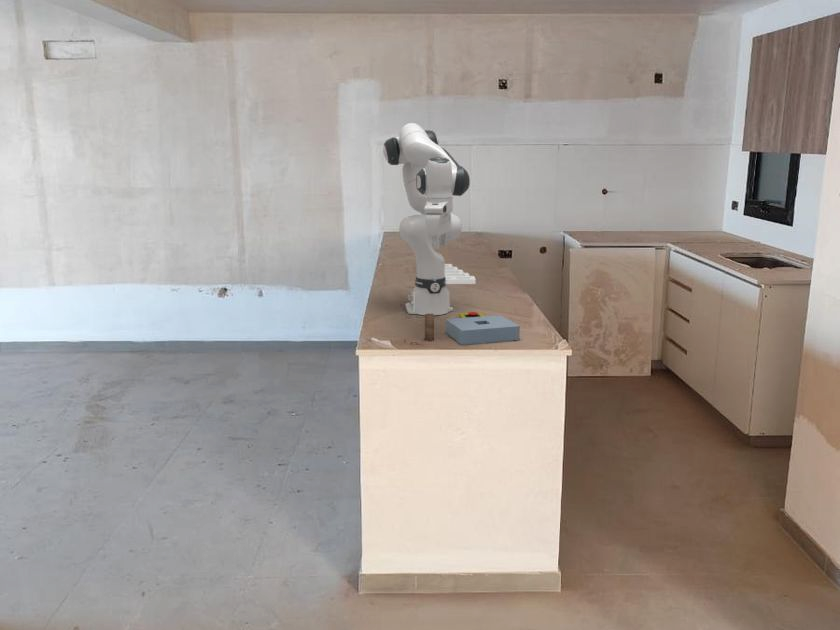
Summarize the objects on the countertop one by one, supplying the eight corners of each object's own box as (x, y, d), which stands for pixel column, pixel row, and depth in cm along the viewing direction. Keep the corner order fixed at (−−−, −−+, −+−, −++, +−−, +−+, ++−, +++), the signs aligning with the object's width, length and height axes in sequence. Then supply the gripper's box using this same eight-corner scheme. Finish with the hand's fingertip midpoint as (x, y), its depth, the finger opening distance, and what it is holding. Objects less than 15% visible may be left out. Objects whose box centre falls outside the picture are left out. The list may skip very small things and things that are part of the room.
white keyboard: (434, 268, 396) (434, 263, 395) (468, 268, 396) (468, 263, 396) (438, 285, 352) (438, 279, 352) (475, 284, 352) (475, 279, 352)
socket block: (445, 332, 264) (445, 319, 263) (500, 328, 270) (500, 315, 268) (461, 345, 248) (462, 330, 247) (519, 340, 254) (519, 326, 253)
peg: (423, 339, 255) (423, 313, 253) (432, 338, 256) (432, 313, 254) (426, 341, 252) (426, 315, 250) (435, 340, 253) (435, 315, 251)
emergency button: (481, 308, 284) (490, 317, 269) (480, 319, 285) (490, 329, 270) (457, 309, 282) (465, 318, 268) (457, 320, 283) (465, 330, 269)
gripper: (438, 204, 260) (438, 243, 262) (422, 208, 240) (422, 250, 243) (455, 204, 258) (455, 244, 261) (441, 208, 239) (441, 251, 241)
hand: (439, 247), depth 252 cm, fingers open, 8 cm apart
